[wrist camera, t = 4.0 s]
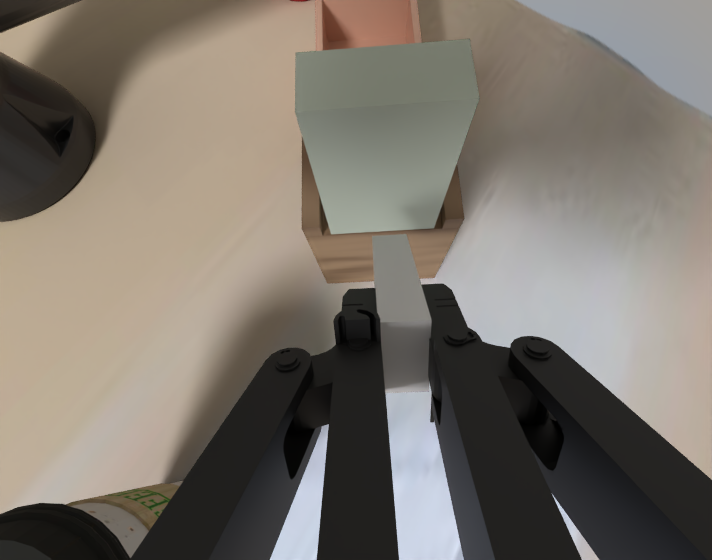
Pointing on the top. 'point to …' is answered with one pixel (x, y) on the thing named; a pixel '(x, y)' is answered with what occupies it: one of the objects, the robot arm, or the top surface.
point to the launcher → (355, 250)
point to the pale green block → (385, 130)
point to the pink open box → (365, 23)
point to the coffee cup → (84, 526)
